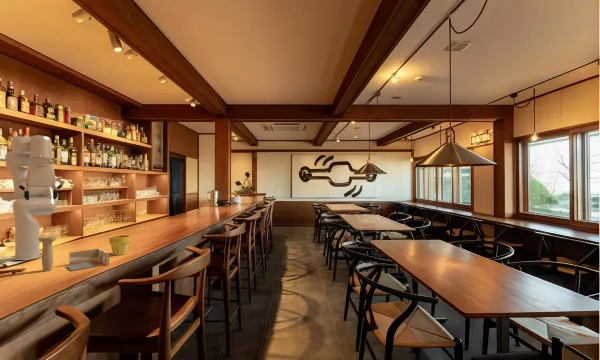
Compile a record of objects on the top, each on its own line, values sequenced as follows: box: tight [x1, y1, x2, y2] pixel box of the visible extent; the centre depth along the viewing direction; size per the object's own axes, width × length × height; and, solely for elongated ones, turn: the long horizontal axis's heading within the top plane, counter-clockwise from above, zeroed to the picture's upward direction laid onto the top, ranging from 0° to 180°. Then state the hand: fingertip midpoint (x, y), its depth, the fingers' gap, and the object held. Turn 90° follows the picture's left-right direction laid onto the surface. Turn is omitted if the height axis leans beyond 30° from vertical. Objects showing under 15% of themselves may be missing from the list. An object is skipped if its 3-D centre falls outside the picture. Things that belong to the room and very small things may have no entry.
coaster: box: [66, 261, 98, 272], centre depth 145 cm, size 10×10×1 cm
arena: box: [68, 247, 110, 267], centre depth 148 cm, size 15×13×6 cm
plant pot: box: [108, 234, 132, 256], centre depth 171 cm, size 10×10×10 cm
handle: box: [39, 236, 57, 272], centre depth 139 cm, size 5×6×15 cm
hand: (41, 199), depth 142 cm, fingers open, 9 cm apart
